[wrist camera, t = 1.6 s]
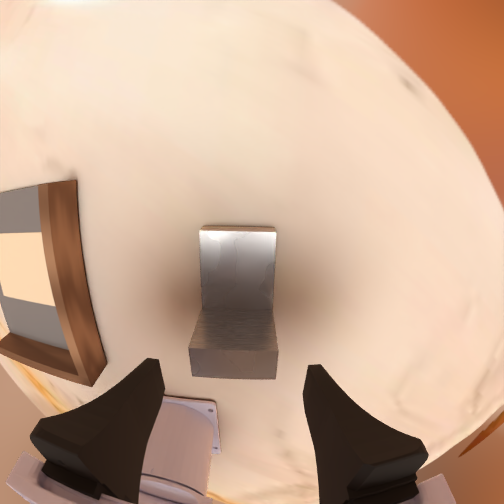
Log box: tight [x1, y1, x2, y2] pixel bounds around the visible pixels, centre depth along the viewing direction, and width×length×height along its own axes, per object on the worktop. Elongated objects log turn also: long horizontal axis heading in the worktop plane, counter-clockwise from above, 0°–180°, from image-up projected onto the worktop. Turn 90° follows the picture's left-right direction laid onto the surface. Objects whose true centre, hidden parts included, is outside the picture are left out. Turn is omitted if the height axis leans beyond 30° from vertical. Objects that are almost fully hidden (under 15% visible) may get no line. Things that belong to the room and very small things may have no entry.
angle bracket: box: [189, 226, 278, 379], centre depth 15 cm, size 7×4×6 cm, turn 179°
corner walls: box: [0, 180, 107, 387], centre depth 17 cm, size 16×14×3 cm
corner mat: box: [0, 186, 107, 364], centre depth 18 cm, size 16×14×1 cm
